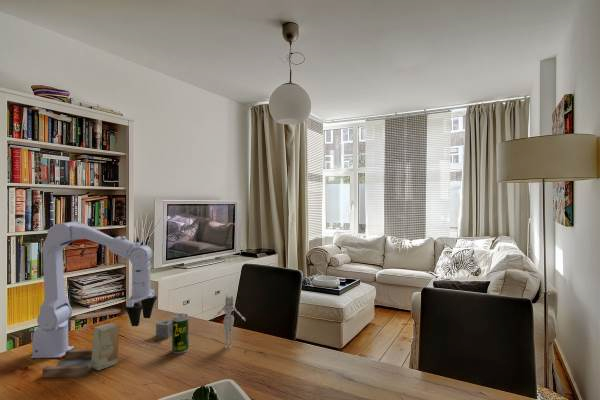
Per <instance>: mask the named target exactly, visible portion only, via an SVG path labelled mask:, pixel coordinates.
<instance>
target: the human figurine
mask: <svg viewBox="0 0 600 400" xmlns="http://www.w3.org/2000/svg"><path fill="white" fill-rule="evenodd" d="M233 311H235V313H236V314H237V315H238V316H239V317H241V319H242V320H243V321H244V322H246V318H245V317H244V316H243V315H242V314H241V313H240V312H239V311H238V310H237V308H236V307H235V305H234V297H233V295H232V294H227V295H225V305H223V307H222V308H221V310H219V311H218V312H217V313H216V315H214V316H213V318H212V320H214V319H215V318H216V317H217V316H218V315H220V314H221V313H222V312H224V313H225V315H224V318H223V327H224V331H225V332H224V334H225V335H224V336H225V346H224V347H223V348H224V349H227V347H228V349H231V348H232V342H233V341H232V340H233V331H232V330H233V326H234V321H235V317H234V315H232V312H233ZM228 340H229V345H228Z"/></svg>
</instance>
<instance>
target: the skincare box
mask: <svg viewBox="0 0 600 400" xmlns="http://www.w3.org/2000/svg"><path fill="white" fill-rule="evenodd" d="M120 327H121V326H120V325H119V324H117V323H115V322H110V323H106V324H102V325H98V326H94V327H93V334H92V336H93V337H92V346H91V347H92V348H91V349H92V359H91V367H93V368H94V369H95V370H97V371H100V370H103V369H107V368H110V367H112V366H115V365H116V364H118V356H119V343H120V342H119V341H120V329H121V328H120Z"/></svg>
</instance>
